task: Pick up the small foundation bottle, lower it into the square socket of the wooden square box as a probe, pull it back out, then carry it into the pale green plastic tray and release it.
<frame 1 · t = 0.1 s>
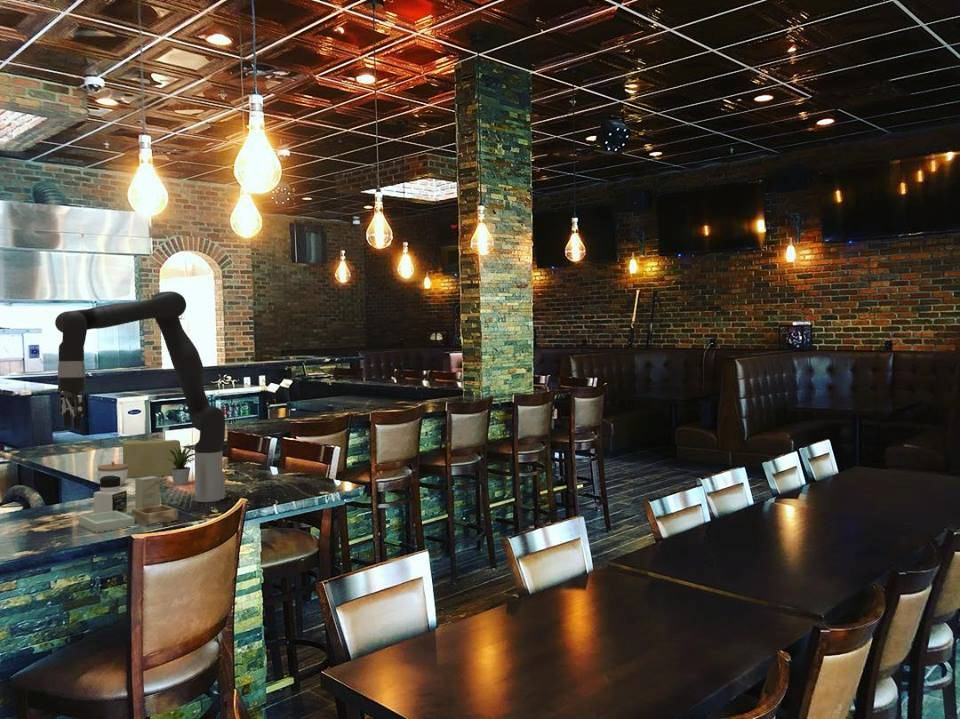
hand: (72, 427, 238), 29 cm above the table, tool pointing down, fingers open, 8 cm apart
medicine bottle: (110, 513, 251), on the table
lidded jar: (113, 486, 297), on the table
wooden square box: (154, 521, 240), on the table
tray: (106, 526, 233), on the table
house plant: (180, 485, 300), on the table
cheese: (154, 476, 319), on the table
skincare box: (147, 515, 248), on the table
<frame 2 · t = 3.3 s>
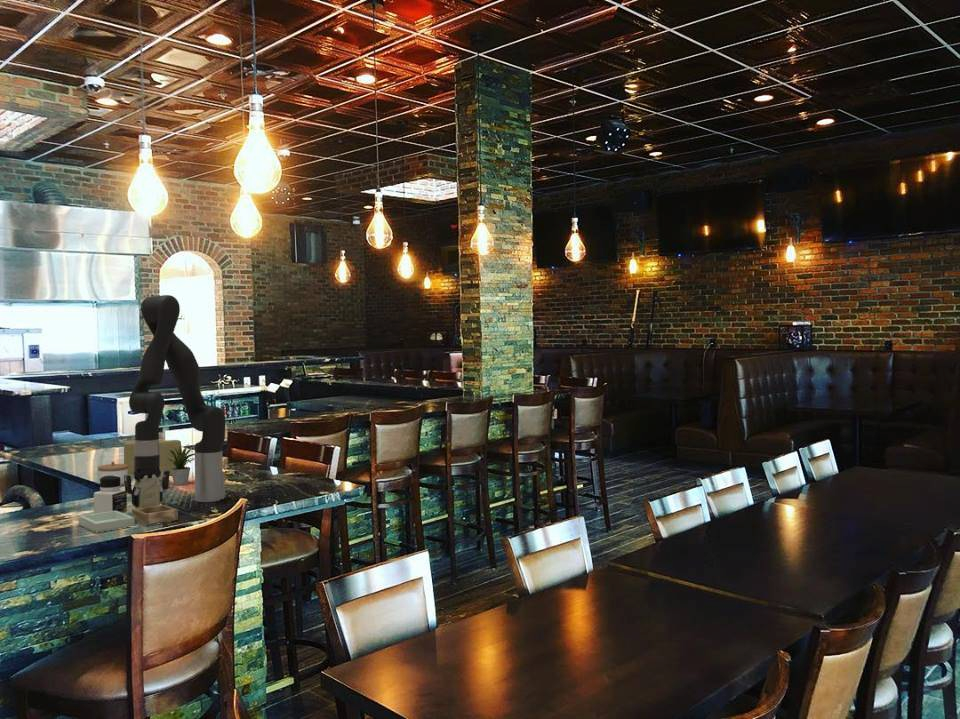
hand: (147, 504, 248), 3 cm above the table, tool pointing down, fingers closed on skincare box, 6 cm apart
skincare box: (147, 515, 248), on the table, touching gripper
everything else where it was.
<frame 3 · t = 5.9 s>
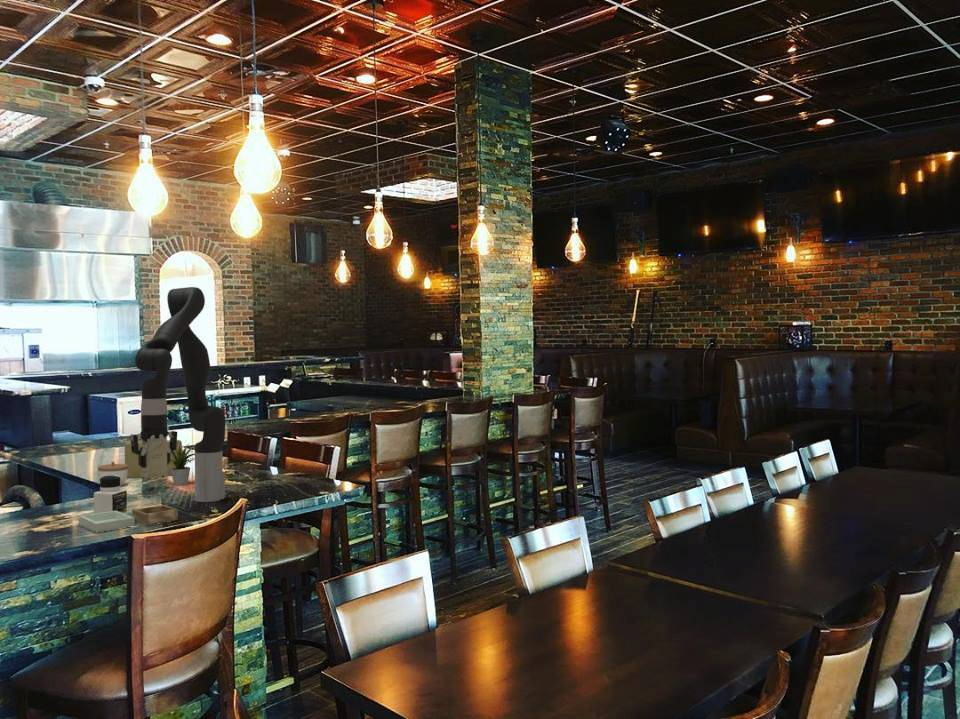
hand: (154, 465, 239), 17 cm above the table, tool pointing down, fingers closed on skincare box, 6 cm apart
skincare box: (154, 477, 239), point 14 cm above the table, touching gripper
everything else where it was.
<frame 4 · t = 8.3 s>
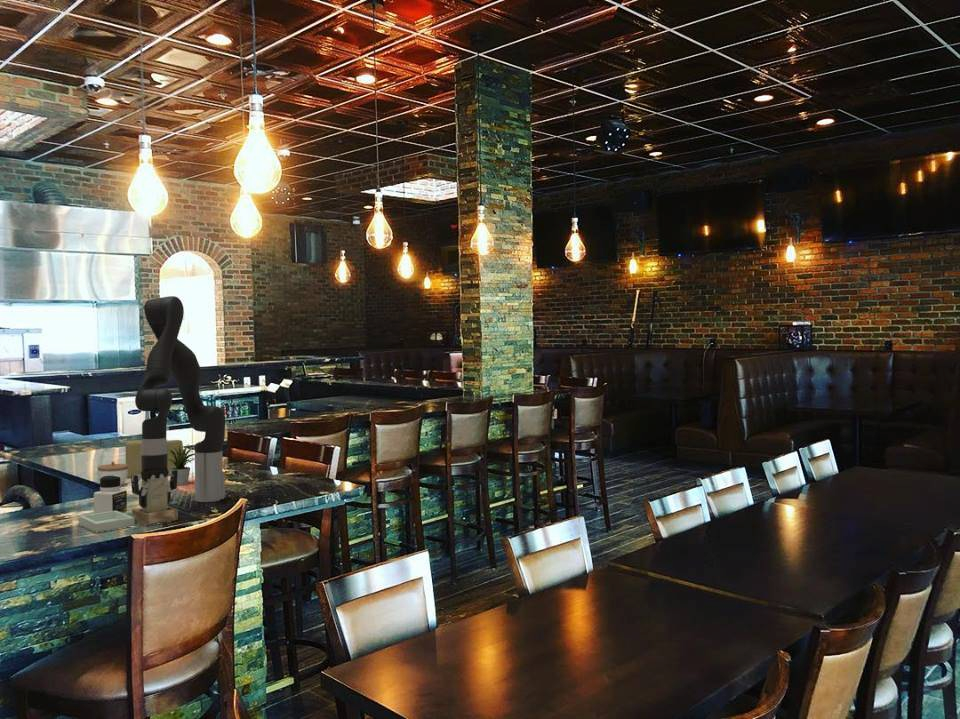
hand: (154, 505, 239), 5 cm above the table, tool pointing down, fingers closed on skincare box, 6 cm apart
skincare box: (155, 516, 240), point 1 cm above the table, touching gripper
everything else where it was.
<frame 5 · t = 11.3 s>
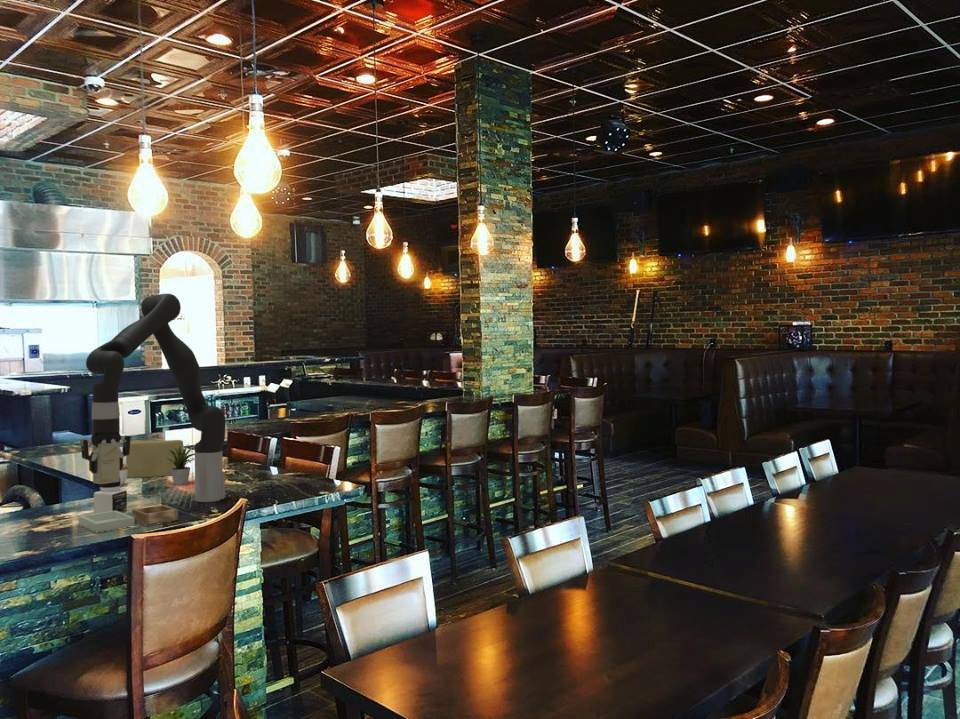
hand: (106, 471, 233), 17 cm above the table, tool pointing down, fingers closed on skincare box, 6 cm apart
skincare box: (106, 483, 233), point 13 cm above the table, touching gripper
when the fingers open (5 cm above the table, at t = 13.8 s): skincare box drops 1 cm, resting on tray.
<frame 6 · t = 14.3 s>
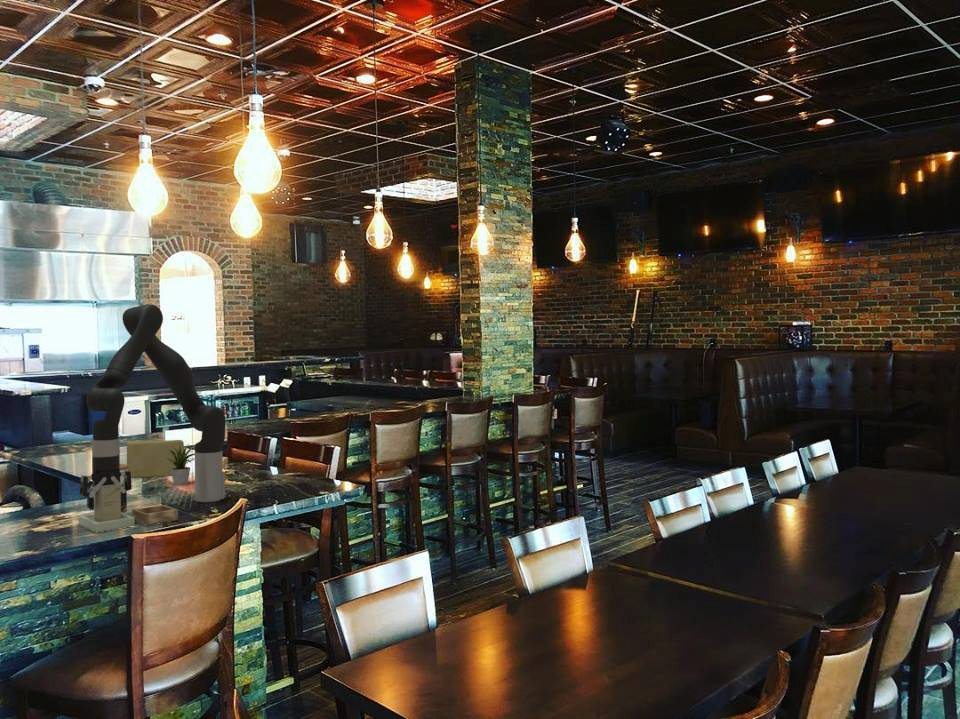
hand: (106, 507, 233), 6 cm above the table, tool pointing down, fingers open, 8 cm apart
skincare box: (107, 524, 233), resting on tray
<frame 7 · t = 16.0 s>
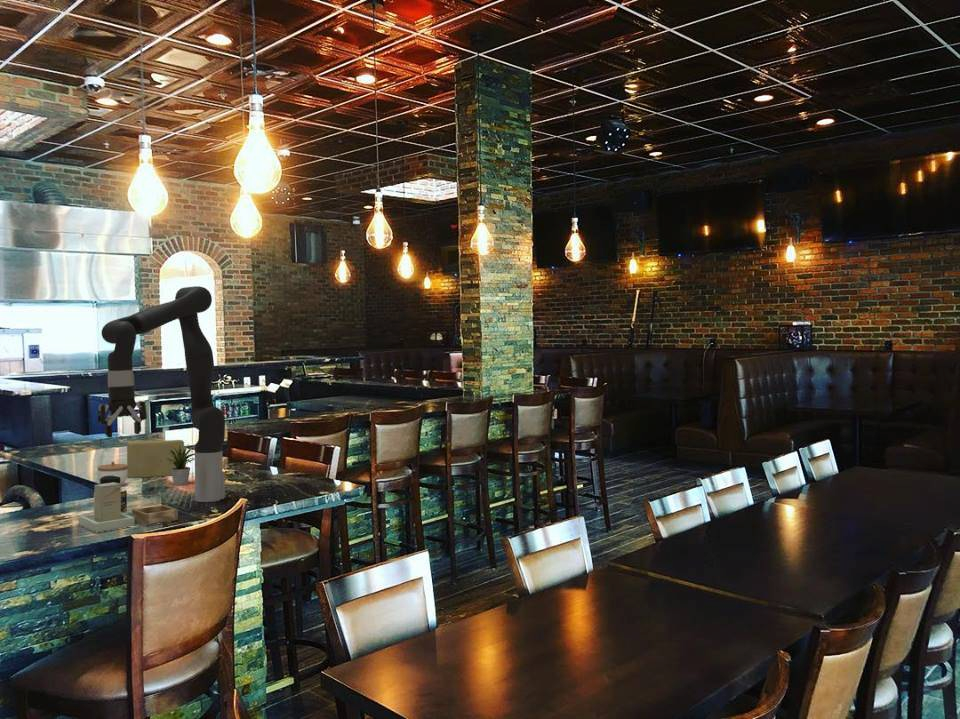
hand: (123, 435, 243), 26 cm above the table, tool pointing down, fingers open, 8 cm apart
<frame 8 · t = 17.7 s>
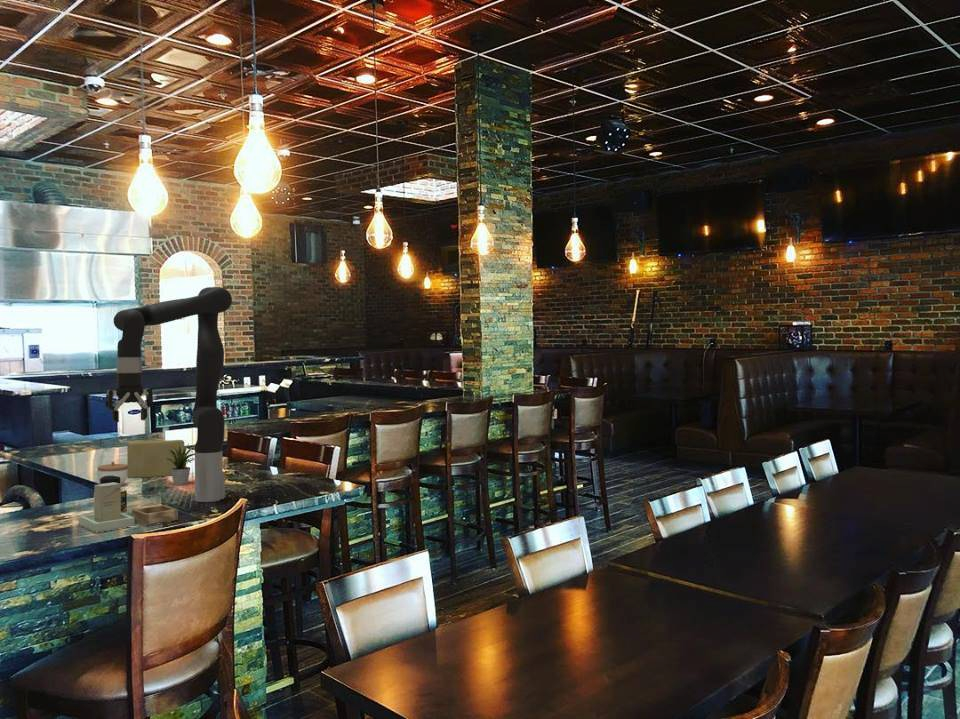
hand: (129, 421, 249), 30 cm above the table, tool pointing down, fingers open, 8 cm apart
at the end: skincare box inside the target area on the tray (0.4 cm from its centre), point 0.4 cm above the tray's base; skincare box tilted 0°; the gripper is holding nothing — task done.
